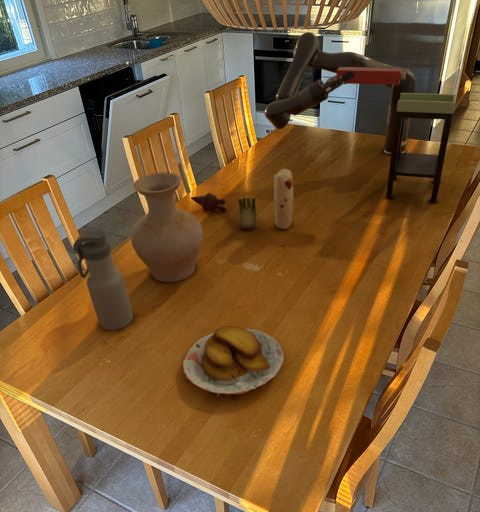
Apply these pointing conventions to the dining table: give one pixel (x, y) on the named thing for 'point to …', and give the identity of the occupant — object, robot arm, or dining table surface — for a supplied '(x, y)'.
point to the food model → (283, 198)
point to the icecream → (210, 202)
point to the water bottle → (103, 281)
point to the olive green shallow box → (426, 103)
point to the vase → (165, 230)
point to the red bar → (372, 75)
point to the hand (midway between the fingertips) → (354, 71)
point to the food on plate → (233, 360)
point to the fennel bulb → (247, 213)
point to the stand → (417, 162)
